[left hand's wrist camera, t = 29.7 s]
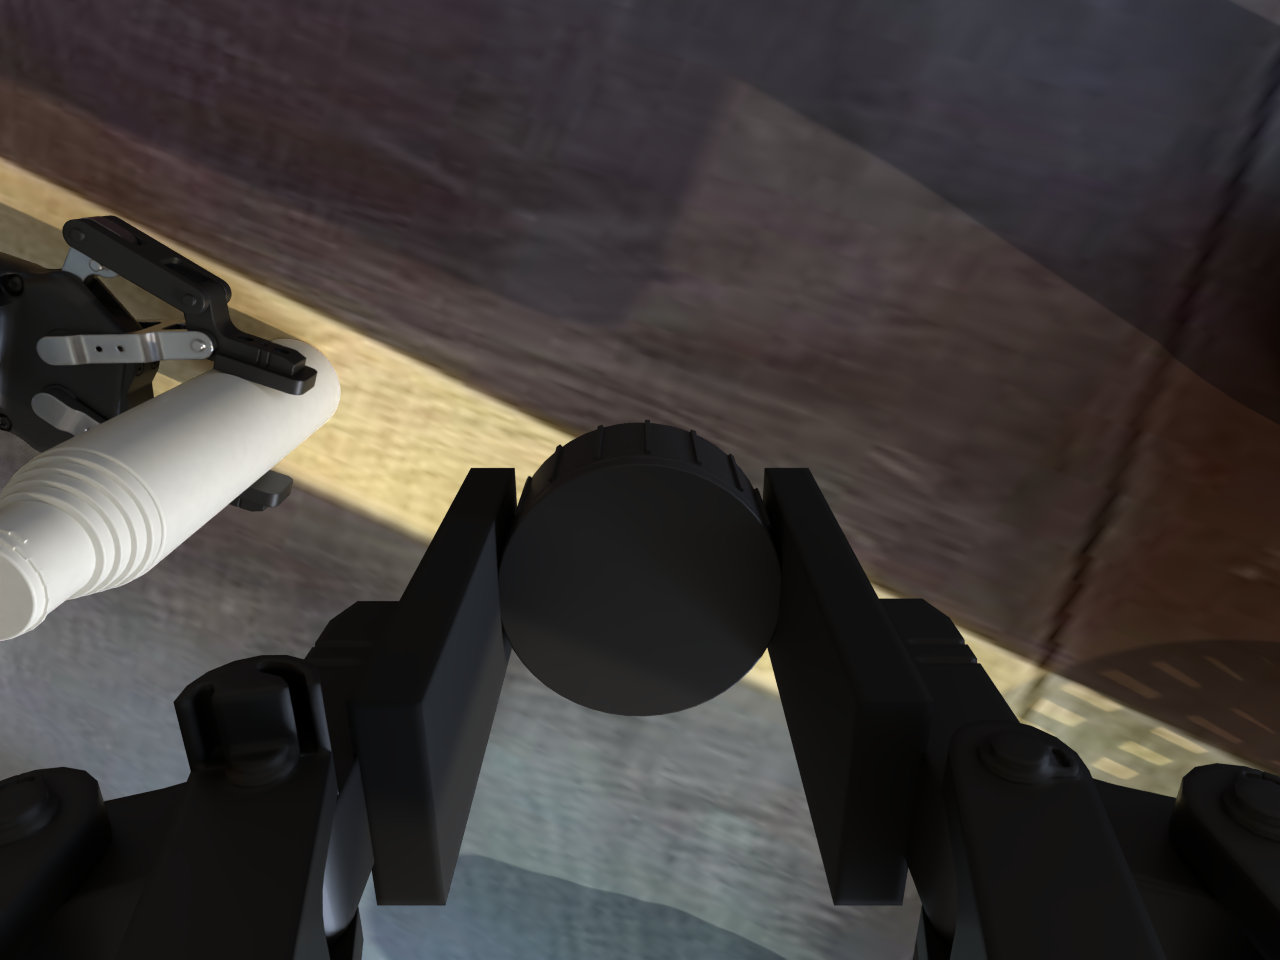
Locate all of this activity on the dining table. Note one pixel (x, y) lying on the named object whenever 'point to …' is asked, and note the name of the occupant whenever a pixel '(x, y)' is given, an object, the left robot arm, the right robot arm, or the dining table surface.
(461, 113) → the dining table surface
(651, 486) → the cap
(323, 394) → the bottle
